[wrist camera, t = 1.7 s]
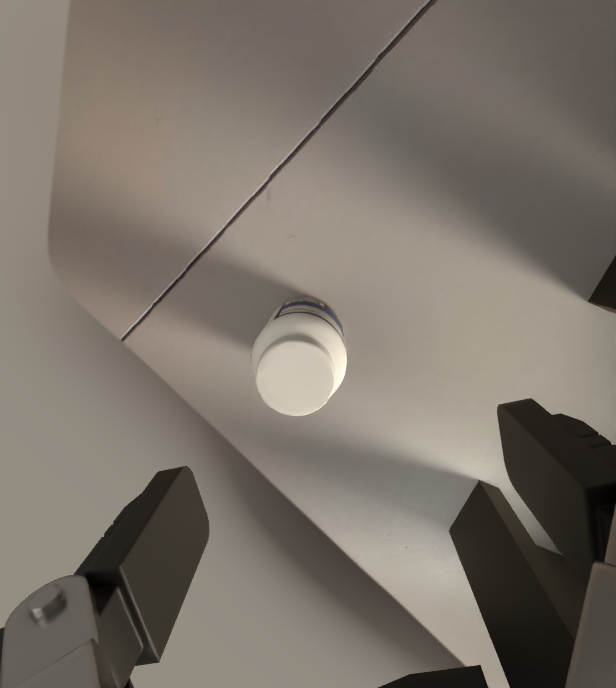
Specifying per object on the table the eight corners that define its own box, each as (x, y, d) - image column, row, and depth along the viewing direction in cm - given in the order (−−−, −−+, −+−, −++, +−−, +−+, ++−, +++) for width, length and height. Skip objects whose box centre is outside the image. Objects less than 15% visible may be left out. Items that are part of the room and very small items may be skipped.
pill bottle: (305, 383, 31) (294, 450, 22) (252, 332, 30) (216, 378, 21) (359, 333, 30) (372, 381, 21) (305, 279, 29) (293, 303, 20)
